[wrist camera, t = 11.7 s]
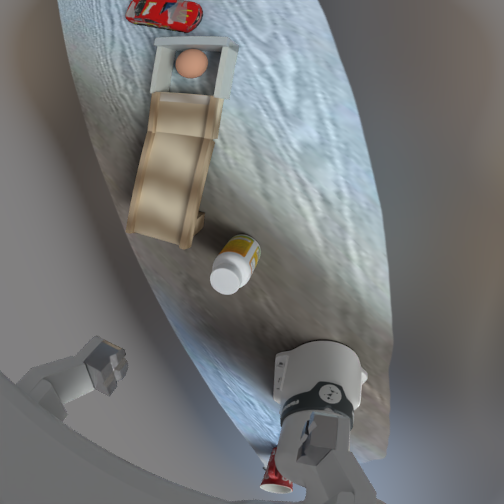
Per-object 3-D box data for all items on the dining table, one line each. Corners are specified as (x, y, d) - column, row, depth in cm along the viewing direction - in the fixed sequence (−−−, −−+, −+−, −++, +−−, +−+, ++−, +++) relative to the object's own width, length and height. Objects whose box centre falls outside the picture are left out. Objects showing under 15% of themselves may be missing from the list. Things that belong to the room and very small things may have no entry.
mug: (302, 457, 71) (294, 494, 59) (273, 456, 74) (263, 492, 62) (296, 439, 67) (287, 481, 55) (264, 438, 70) (252, 478, 58)
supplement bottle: (220, 244, 46) (196, 275, 38) (246, 227, 44) (226, 255, 35) (241, 270, 47) (222, 305, 39) (268, 255, 45) (253, 289, 36)
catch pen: (229, 99, 36) (216, 97, 32) (164, 94, 38) (145, 92, 33) (239, 45, 32) (227, 37, 28) (172, 44, 34) (155, 37, 29)
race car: (211, 8, 31) (200, -1, 27) (195, 37, 33) (183, 31, 30) (143, -3, 31) (130, -10, 27) (130, 24, 33) (115, 19, 30)
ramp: (207, 230, 46) (184, 253, 38) (155, 216, 47) (125, 236, 39) (226, 98, 36) (202, 93, 29) (166, 92, 37) (133, 90, 30)
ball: (197, 69, 31) (206, 84, 35) (206, 43, 30) (215, 59, 35) (166, 68, 31) (178, 83, 36) (176, 43, 31) (187, 58, 35)
